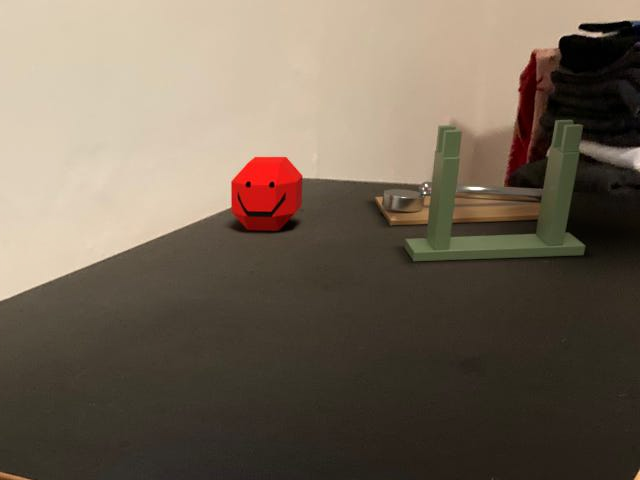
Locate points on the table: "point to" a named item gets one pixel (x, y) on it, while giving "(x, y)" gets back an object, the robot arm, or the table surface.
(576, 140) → the rack
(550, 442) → the table surface
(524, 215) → the brown wooden board
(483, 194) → the ladle
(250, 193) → the ball
